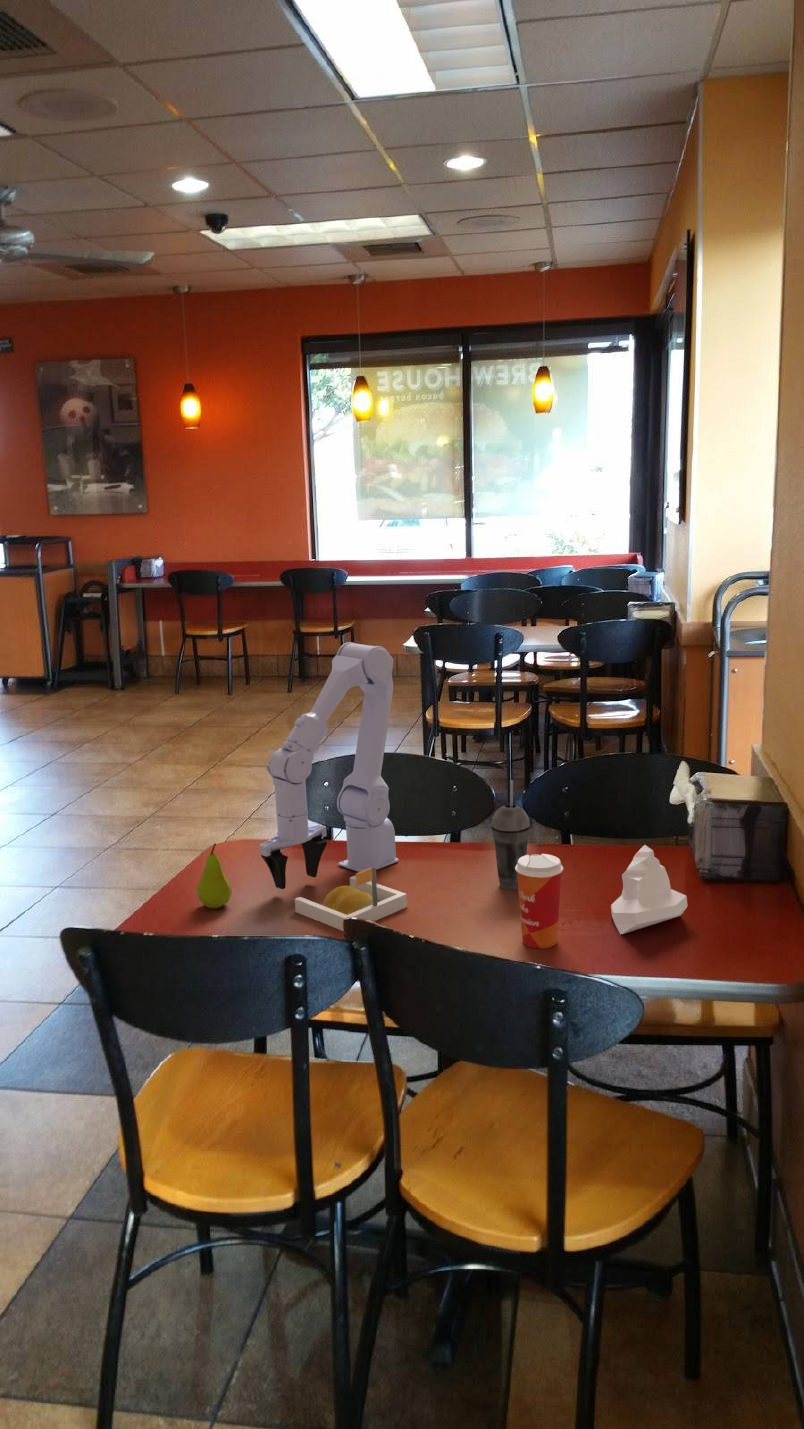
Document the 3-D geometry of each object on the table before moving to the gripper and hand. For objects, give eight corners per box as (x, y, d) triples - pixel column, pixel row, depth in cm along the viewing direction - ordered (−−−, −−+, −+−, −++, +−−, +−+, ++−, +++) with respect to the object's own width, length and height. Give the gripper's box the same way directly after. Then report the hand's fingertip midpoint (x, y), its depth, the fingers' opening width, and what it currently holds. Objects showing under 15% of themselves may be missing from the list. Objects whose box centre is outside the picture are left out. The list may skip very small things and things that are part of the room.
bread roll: (349, 924, 184) (348, 902, 184) (317, 910, 191) (315, 889, 190) (384, 909, 190) (383, 888, 189) (352, 896, 196) (350, 876, 195)
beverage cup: (487, 890, 196) (484, 786, 192) (498, 876, 203) (496, 775, 199) (525, 894, 194) (524, 789, 189) (535, 880, 200) (534, 778, 196)
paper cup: (512, 933, 178) (511, 853, 175) (557, 930, 178) (557, 850, 175) (521, 953, 170) (520, 871, 167) (568, 950, 171) (568, 867, 168)
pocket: (354, 888, 200) (352, 840, 198) (407, 906, 190) (405, 856, 188) (295, 911, 190) (292, 861, 188) (347, 932, 180) (344, 880, 178)
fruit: (190, 907, 194) (185, 845, 191) (217, 897, 198) (212, 835, 196) (213, 916, 190) (208, 852, 187) (240, 904, 194) (235, 842, 191)
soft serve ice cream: (588, 932, 180) (579, 848, 181) (654, 919, 188) (646, 839, 189) (638, 940, 170) (629, 850, 170) (706, 925, 177) (698, 840, 178)
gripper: (308, 799, 205) (311, 866, 208) (247, 818, 195) (252, 887, 198) (332, 806, 200) (335, 874, 203) (271, 825, 190) (276, 897, 193)
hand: (296, 881), depth 200 cm, fingers open, 7 cm apart
